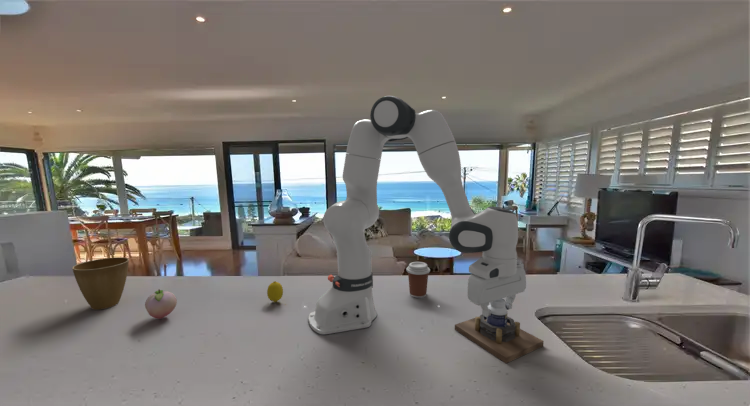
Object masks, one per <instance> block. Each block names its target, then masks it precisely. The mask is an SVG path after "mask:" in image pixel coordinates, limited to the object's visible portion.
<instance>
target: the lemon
mask: <svg viewBox="0 0 750 406" xmlns="http://www.w3.org/2000/svg"><path fill="white" fill-rule="evenodd" d="M266 294H267V298H268V300H269V301H271V302H273V303H277V302H278V301H280V299H282V297H283V295H284V289H283V286H282V284H281V283H280V282H279V281H272V282H271V283H270V284H269V285H268V287H267V290H266Z"/></svg>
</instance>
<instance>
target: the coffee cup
mask: <svg viewBox="0 0 750 406" xmlns="http://www.w3.org/2000/svg"><path fill="white" fill-rule="evenodd" d="M428 266H429V265H428V264H427V262H423V261H413V262H410V263H409V264H408V266H407V267H406V268H405V269H406V270H405V271H406V272H407V275H408V276H407V277H408V287H409V296H411V297H412V298H417V299H422V298H425V297H427V292H428V280H429V273H430V272H431V269H430V267H428Z"/></svg>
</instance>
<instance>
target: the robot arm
mask: <svg viewBox="0 0 750 406" xmlns="http://www.w3.org/2000/svg"><path fill="white" fill-rule="evenodd" d="M352 126H353V127H352V128H351V131H350V135H349V138H348V142H347V146H346V150H345V151H346V152H345V158H344V163H343V165H344V166H343V170H342V180H343V182H344V184H345V188H346V199H344V200H340V201H337V202H335V203H334V204H331V206H329V207H328V208H327V209H326V210H325V212H324V214H323V220H322V221H323V226H324V228H325V230H326V231H327V232H328V234H330V236H331V237H332V239H333V242H334V245H335V249H336V256H337V257H336V258H337V273H336V274H335V276H333V274H328V276H327V280H328V281H329V283H330V282H331V283H332V286H331V287H330V288H329V289H328V290H326V291H325V292H324V293H323V294H322V295H321V296H320V297H319V298H318V299H317V300H316V302H315V310H314V311H311V312H310V313H309V314H308V325H309V326H310V327H311V329H312V330H313V331H314V332H315V333H317V334H319V335H328V334H334V333H335V334H337V333H343V332H347V331H348V332H349V331H353V330H354V331H355V330H360V329H364V328H369V327H371V325H372V322H373V321H374V320H375V319H376V317H377V316H378V315H377V314H378V312H377V309H376V306H375V301H374V296H373V288H374V276H373V272H372V250H371V248H370V246H369V245H368V243H367V239H366V235H365V230H366V229H369V228H370V227H372V226H373V225H374V224H375V223H376V222H377V220H378V219H379V215H380V208H379V205H378V193H377V192H378V189H377V187H378V180H379V179H378V178H379V172H380V166H381V160H382V155H383V149H384V146H385V144H386V143H387V142H394V141H395V142H396V141H403V140H406V139H410V140H411V141H412V143H413V145H414V147H415V150H416V153H417V157H418V158H419V161H420V164H421V166H422V168H423V170H424V172H425V173H426V175H427V176H428V178H430V179H431V180H432V181H433V182H434V183H435V184H436V185H437V187H439V188H440V190H441V192H442V194H443V196H444V199H445V201H446V204H447V206H448V209H449V212H450V215H451V216H450V217H451V223H450V229H449V234H448V239H449V242H450V244H451V246H452V248H453V249H455V250H456V251H458V252H459V253H463V254H474V253H482V256H480V258H478V259H477V260H475V262H473V263H471V264H470V265H469V266H468V272H469V273H470V275H469V277H468V281H467V299H468V300H469V302H471V303H472V304H474V305H475V306H476V305H477V306H480V308H481V311H482V312H481V313H482V314H483V316H485V317H489V316H491V310H489V309H488V306H489V305H490V302H492V301H495V300H499V299H505V298H506V299H505V307H506V309H507V311H509V310H511V309H513V303H514V301H515V299H516V295H518V294H521V293H524V292H525V290H526V289H527V276H526V275H527V274H526V270H525V267H524V266H525V265H524V263H523V262H522V260H518V252H517V244H518V240H519V223H518V217H517V215H516V214H515V213H514V212H513V211H512V210H510V209H507V208H504V207H500V206H494V205H493V206H492V205H491V206H487V207H486V208H485V209H484V210H482V211H479V212H477V213H475V212H474V210H473V209H472V207H471V205H470V203H469V202H470V201H469V200H468V197H467V194H466V190H465V188H464V185H463V180H462V164H461V156H460V152H459V148H458V145H457V142H456V139H455V137H454V134H453V132H452V129H451V128H450V126H449V124H448V122H447V119H446V118H445V117H444V115H443V113H442V112H440V111H439V110H437V109H427V110H424V111H420V112H416V110H415V109H414V108H413V107H412V106H411V105H410V104H409V102H406V101H404V100H403V99H402V98H400V97H398V96H395V95H386V96H382V97H380V98H378V99H377V100H376V101H375V102H374V104H373V105H372V107H371V110H370V119H367V118H366V119H364V118H363V119H360V120H358V121H356V122H355V123H354V125H352ZM482 314H481V315H482Z"/></svg>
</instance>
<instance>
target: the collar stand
mask: <svg viewBox="0 0 750 406" xmlns="http://www.w3.org/2000/svg"><path fill="white" fill-rule="evenodd" d="M486 329H488V330H489V331H491V332H496V335H495V334H492V333H490V332H488V331H487V330H486ZM454 330H455V331H457V332H458V333H459V334H461V335H462V336H463V337H465V338H467V339H469V340H470V341H472V342H473V343H475V344H476V345H477V346H479V347H481V349H484V351H486V352H488V353H489V354H491V355H493V356H494V357H495V358H497V359H498V360H500V361H502V362H503V363H505V364H507V363H510V362H512V361H514V360H516V359H519V358H521V357H523V356H525V355H527V354H530V353H532V352H533V351H536V350H538V349H540V348H542V347H544V340H543V339H540V338H539V337H538V336H535V335H533V334H531V333H529V332H527V331H526V330H523V329H521V322H519V321H515V320H514V319H513V318H511V317H510V316H508V315H507V327H498V326H492V325H490V324H489V323H487V317H485V316H483V314H480V315H479V316H475V317H473V318H471V319H467V320H465V321H462V322H459V323H455V324H454ZM502 333H505V334H506V335H505V336H502Z"/></svg>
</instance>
